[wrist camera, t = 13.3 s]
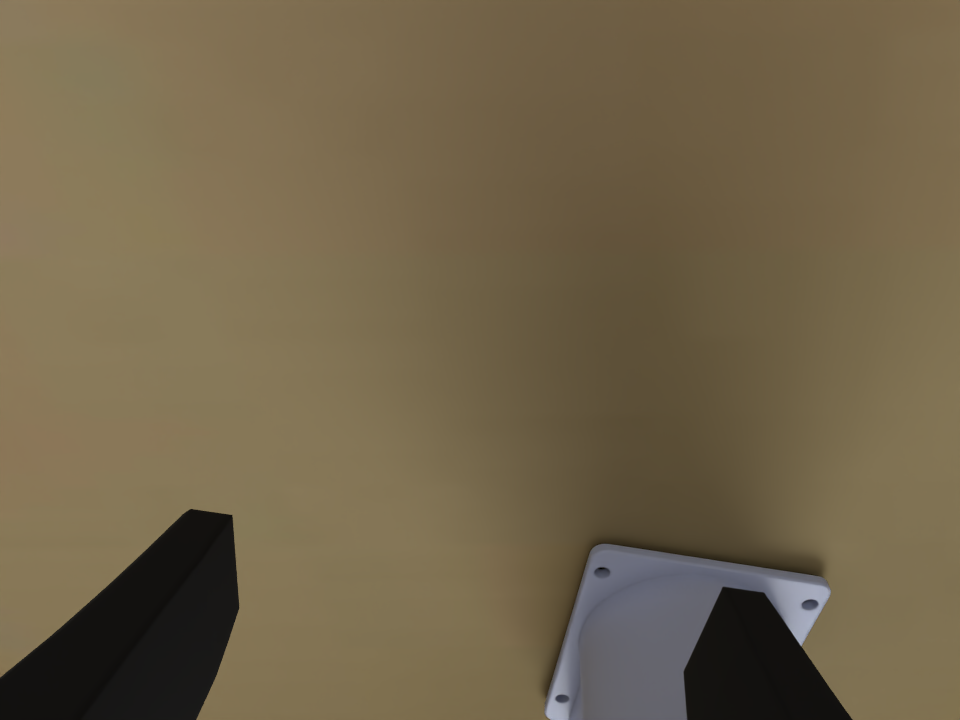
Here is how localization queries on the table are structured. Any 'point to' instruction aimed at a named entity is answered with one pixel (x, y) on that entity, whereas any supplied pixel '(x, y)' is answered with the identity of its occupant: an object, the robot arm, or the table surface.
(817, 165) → the table surface
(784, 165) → the table surface
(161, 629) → the robot arm
